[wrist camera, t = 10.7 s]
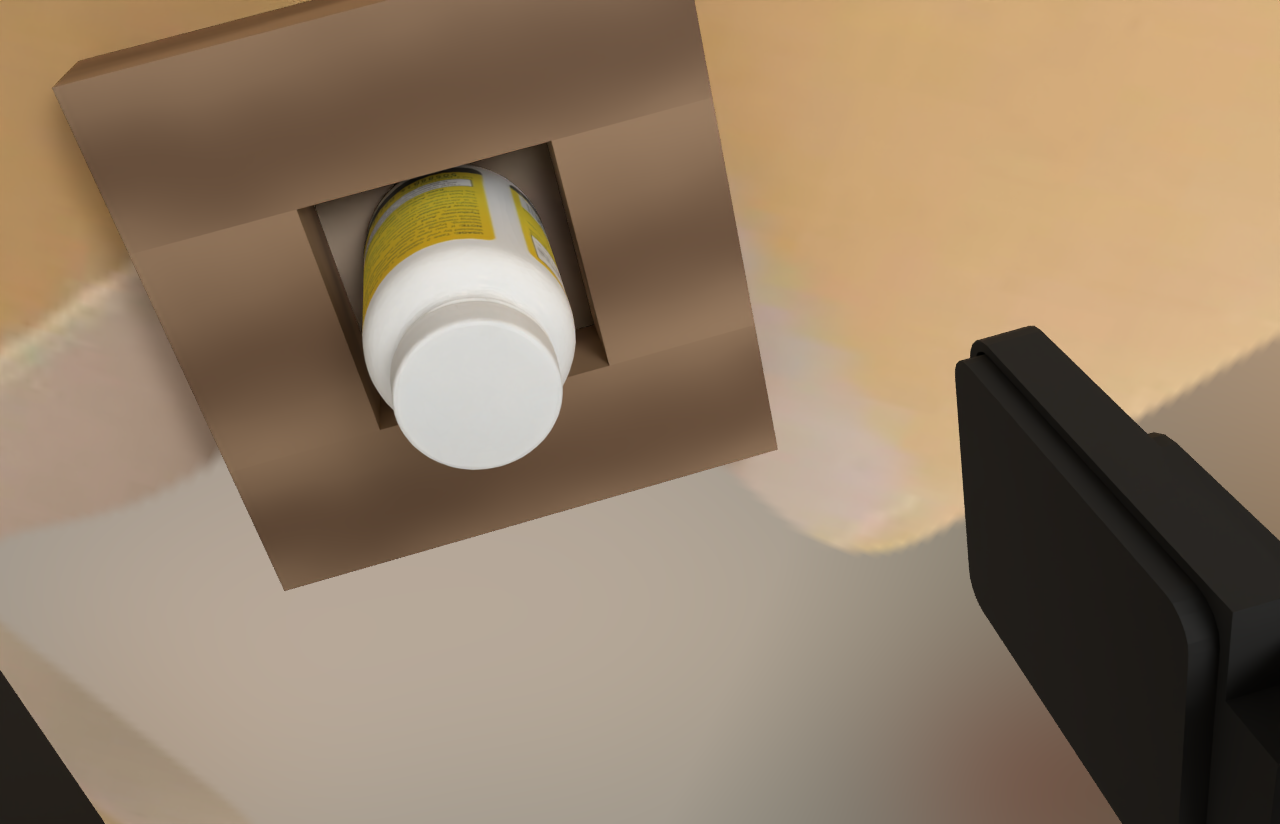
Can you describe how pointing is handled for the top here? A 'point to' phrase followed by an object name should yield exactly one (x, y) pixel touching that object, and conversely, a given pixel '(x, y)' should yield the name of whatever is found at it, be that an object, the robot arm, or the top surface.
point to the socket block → (400, 150)
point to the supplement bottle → (465, 317)
